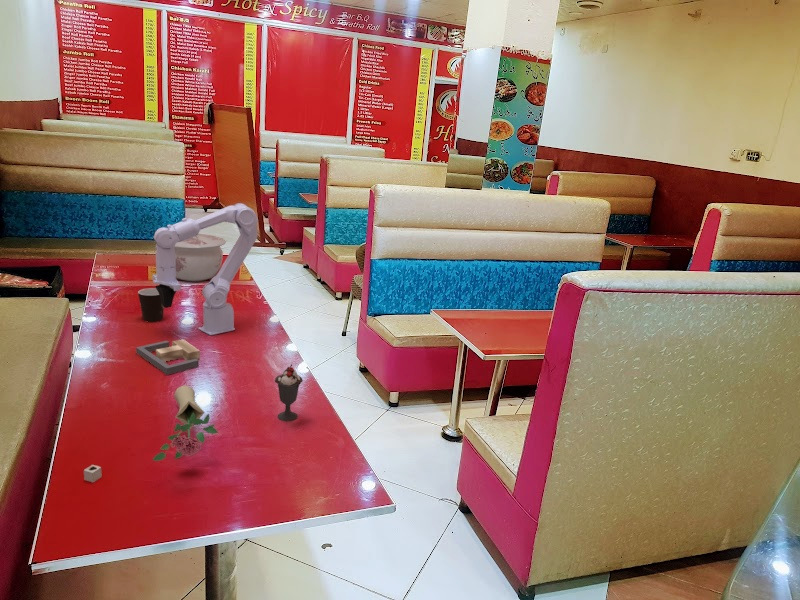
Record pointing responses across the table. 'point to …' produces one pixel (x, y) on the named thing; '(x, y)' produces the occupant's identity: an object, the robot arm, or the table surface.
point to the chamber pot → (198, 257)
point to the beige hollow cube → (92, 473)
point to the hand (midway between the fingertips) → (167, 306)
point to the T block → (178, 351)
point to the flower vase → (187, 425)
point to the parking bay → (160, 364)
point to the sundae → (288, 392)
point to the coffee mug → (151, 305)
